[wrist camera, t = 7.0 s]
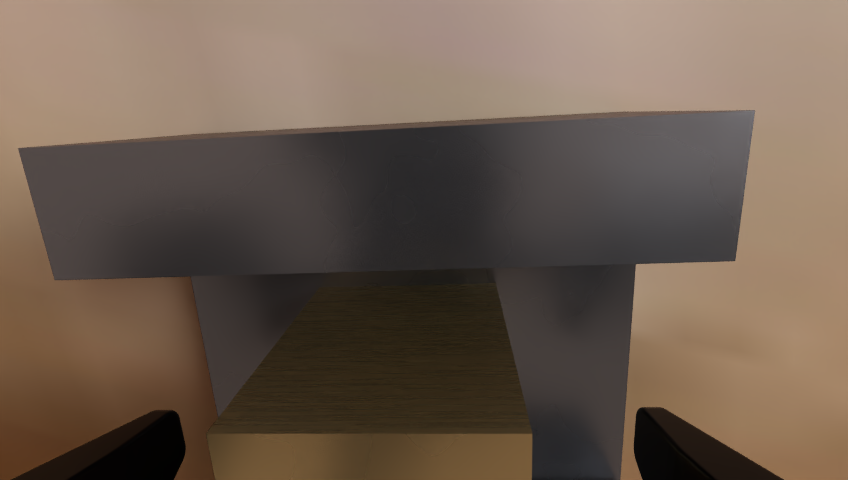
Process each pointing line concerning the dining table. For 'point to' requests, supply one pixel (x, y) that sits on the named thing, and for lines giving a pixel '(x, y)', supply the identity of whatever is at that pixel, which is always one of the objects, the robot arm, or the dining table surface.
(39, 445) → the dining table surface
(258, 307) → the vise base
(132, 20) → the dining table surface
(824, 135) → the dining table surface
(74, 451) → the robot arm
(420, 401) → the block
